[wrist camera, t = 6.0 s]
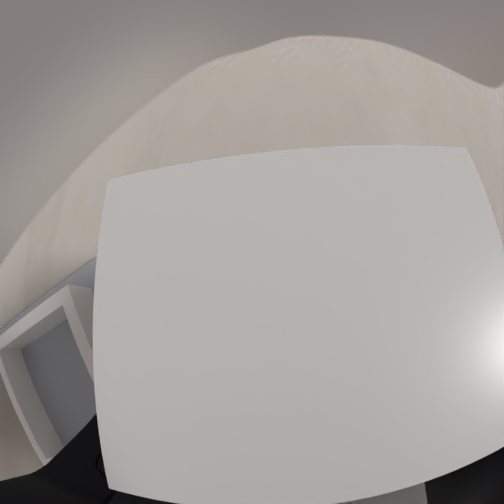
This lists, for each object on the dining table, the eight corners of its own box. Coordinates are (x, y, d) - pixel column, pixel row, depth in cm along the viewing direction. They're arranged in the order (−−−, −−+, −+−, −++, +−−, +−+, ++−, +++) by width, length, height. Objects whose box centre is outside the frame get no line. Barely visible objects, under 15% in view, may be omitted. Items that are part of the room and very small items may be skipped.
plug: (347, 376, 13) (516, 439, 2) (246, 386, 14) (109, 488, 2) (340, 298, 14) (467, 147, 3) (241, 307, 15) (107, 179, 4)
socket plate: (200, 443, 14) (184, 467, 11) (70, 474, 14) (47, 488, 11) (108, 256, 16) (78, 246, 13) (6, 330, 16) (-22, 330, 13)
